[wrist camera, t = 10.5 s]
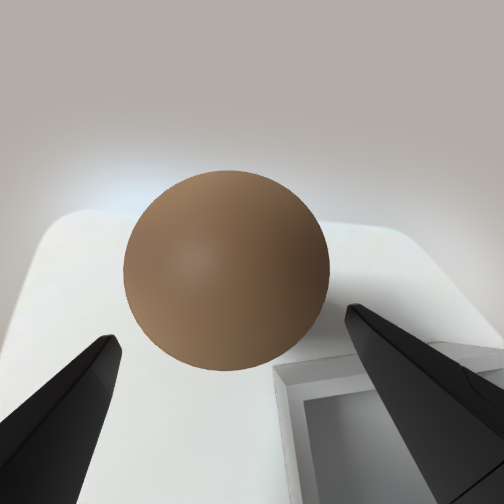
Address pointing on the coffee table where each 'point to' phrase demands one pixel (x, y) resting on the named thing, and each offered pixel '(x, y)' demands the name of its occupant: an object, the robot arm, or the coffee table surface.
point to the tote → (354, 430)
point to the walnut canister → (226, 270)
